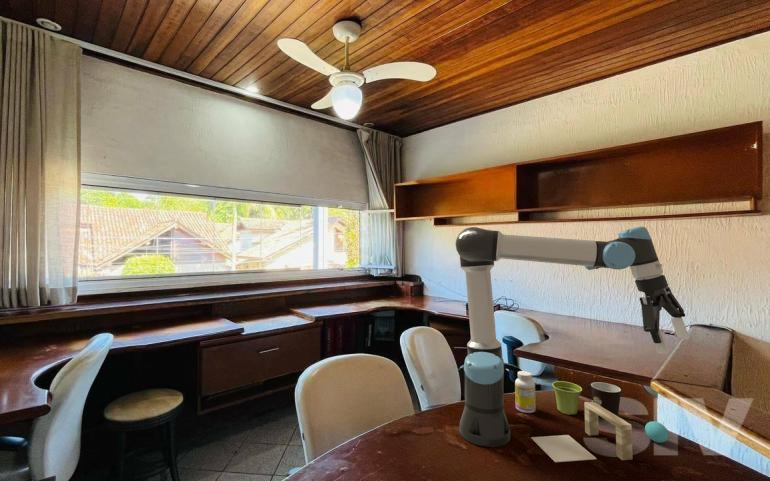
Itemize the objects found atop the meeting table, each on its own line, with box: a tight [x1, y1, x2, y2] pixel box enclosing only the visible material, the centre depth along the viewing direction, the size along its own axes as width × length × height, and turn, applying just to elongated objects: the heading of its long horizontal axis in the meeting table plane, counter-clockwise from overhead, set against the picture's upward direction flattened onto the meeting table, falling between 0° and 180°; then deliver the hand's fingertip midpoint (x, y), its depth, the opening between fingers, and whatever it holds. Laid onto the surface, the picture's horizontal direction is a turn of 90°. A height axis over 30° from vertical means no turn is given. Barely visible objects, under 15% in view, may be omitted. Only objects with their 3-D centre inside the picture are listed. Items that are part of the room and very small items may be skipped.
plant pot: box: [551, 380, 583, 416], centre depth 120 cm, size 9×9×9 cm
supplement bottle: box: [514, 370, 536, 414], centre depth 122 cm, size 7×7×13 cm
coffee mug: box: [586, 381, 622, 422], centre depth 118 cm, size 12×9×10 cm
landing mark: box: [530, 434, 598, 463], centre depth 98 cm, size 12×12×1 cm
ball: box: [644, 420, 670, 444], centre depth 101 cm, size 6×6×6 cm
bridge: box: [583, 401, 634, 461], centre depth 99 cm, size 3×14×9 cm, turn 6°
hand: (674, 346), depth 101 cm, fingers open, 13 cm apart
